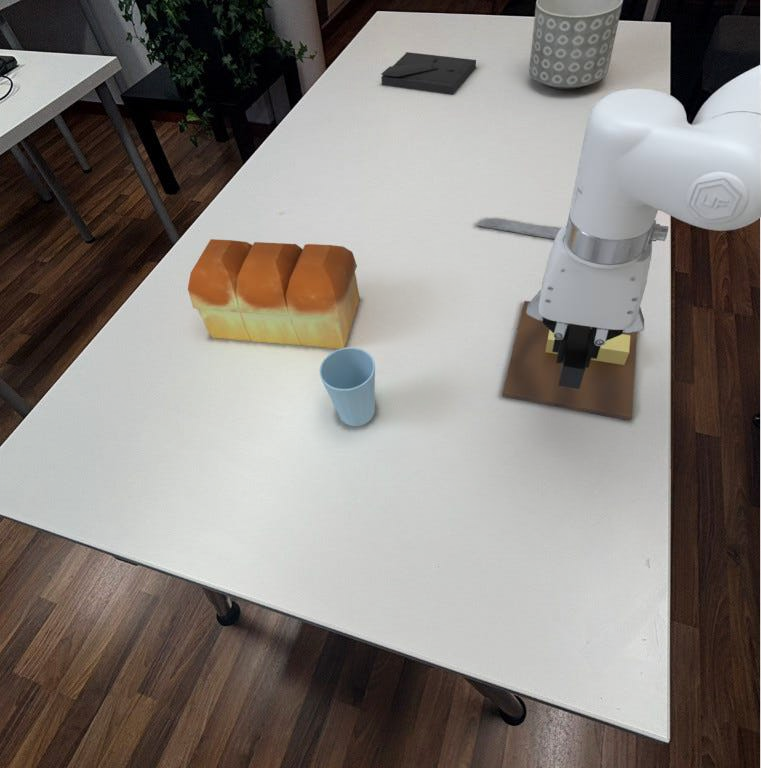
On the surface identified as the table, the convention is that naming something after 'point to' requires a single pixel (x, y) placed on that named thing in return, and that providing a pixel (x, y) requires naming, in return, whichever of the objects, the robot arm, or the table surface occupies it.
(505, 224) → the knife
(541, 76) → the planter
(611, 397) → the butter board
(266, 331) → the bread
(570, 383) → the screwdriver
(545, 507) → the table surface
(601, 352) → the butter
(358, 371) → the cup
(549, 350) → the butter pat
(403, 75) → the picture frame
